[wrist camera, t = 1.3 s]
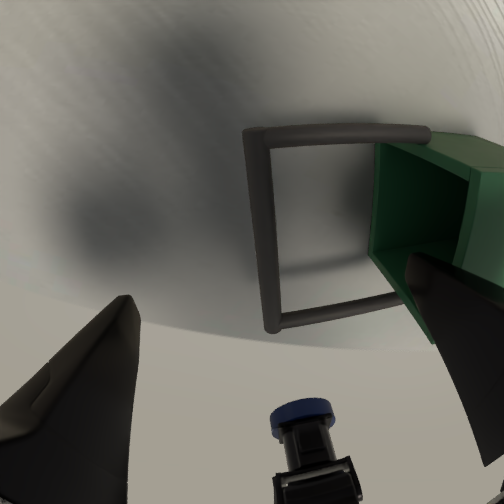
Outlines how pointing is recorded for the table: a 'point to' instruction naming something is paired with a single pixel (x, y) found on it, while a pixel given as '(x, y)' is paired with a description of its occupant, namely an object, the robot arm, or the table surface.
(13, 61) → the table surface
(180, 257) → the table surface
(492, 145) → the pail
